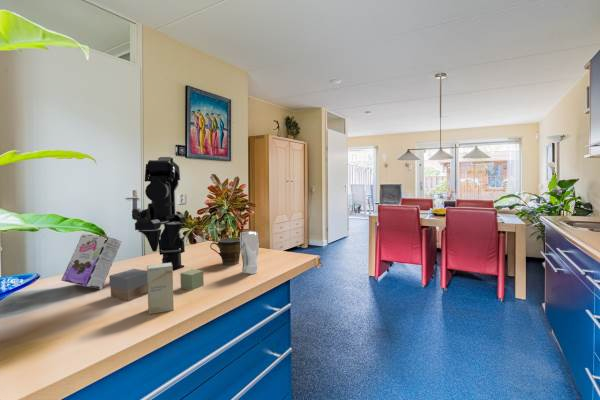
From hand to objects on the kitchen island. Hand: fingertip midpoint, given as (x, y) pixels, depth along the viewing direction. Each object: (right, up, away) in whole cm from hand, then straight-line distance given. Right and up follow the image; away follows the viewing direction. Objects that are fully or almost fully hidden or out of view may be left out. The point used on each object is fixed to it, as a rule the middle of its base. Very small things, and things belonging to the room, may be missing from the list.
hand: (163, 248), depth 100 cm
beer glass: (+25, -12, +17) cm, 33 cm away
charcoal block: (-8, -11, -5) cm, 14 cm away
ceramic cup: (+13, -11, +30) cm, 34 cm away
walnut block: (-8, -14, -4) cm, 17 cm away
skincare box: (+6, -14, -16) cm, 22 cm away
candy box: (-28, -13, +1) cm, 30 cm away
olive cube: (+9, -13, +2) cm, 16 cm away
